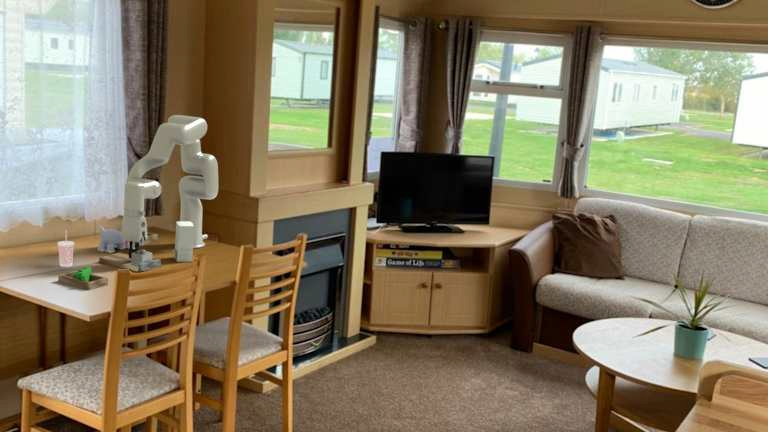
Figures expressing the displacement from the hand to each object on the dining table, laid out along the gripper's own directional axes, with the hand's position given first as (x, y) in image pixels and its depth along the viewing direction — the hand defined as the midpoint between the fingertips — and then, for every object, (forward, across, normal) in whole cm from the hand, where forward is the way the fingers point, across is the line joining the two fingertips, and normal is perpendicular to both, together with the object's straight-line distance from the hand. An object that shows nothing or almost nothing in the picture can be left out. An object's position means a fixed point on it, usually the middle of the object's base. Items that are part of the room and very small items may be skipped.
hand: (133, 257), depth 303 cm
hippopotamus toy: (+3, +24, -13) cm, 27 cm away
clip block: (+2, -5, 0) cm, 5 cm away
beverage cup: (+3, +19, +16) cm, 25 cm away
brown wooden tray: (+3, -4, +29) cm, 30 cm away
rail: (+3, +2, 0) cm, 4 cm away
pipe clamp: (+3, -4, +29) cm, 30 cm away
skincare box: (+3, -8, -21) cm, 22 cm away
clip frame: (+3, +30, -33) cm, 45 cm away
